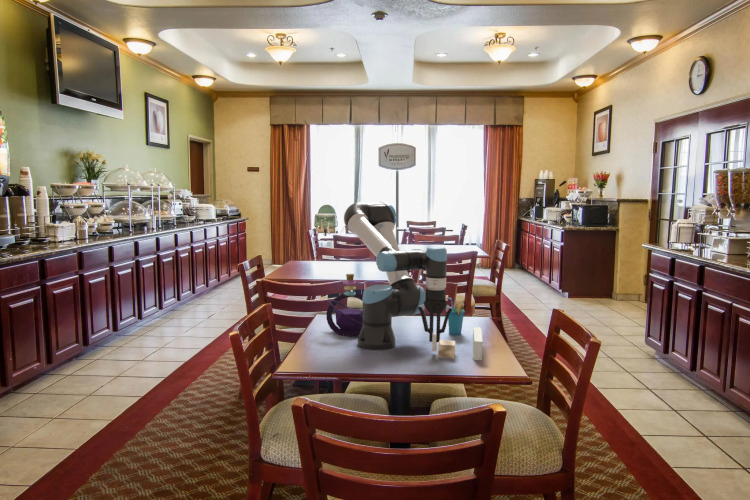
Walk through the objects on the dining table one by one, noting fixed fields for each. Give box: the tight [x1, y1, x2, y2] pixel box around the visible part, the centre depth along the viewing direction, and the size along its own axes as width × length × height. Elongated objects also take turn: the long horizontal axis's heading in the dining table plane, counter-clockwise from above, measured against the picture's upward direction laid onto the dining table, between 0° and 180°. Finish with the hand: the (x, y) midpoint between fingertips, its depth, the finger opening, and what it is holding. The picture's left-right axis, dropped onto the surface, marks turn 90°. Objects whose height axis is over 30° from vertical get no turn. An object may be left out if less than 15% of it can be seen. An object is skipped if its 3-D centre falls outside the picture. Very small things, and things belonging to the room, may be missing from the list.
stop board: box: [472, 326, 484, 361], centre depth 196 cm, size 3×20×7 cm, turn 170°
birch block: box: [437, 339, 456, 359], centre depth 191 cm, size 6×6×5 cm
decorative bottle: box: [326, 273, 363, 337], centre depth 221 cm, size 22×21×25 cm
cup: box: [446, 297, 466, 336], centre depth 220 cm, size 14×8×15 cm, turn 21°
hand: (434, 350), depth 191 cm, fingers closed
